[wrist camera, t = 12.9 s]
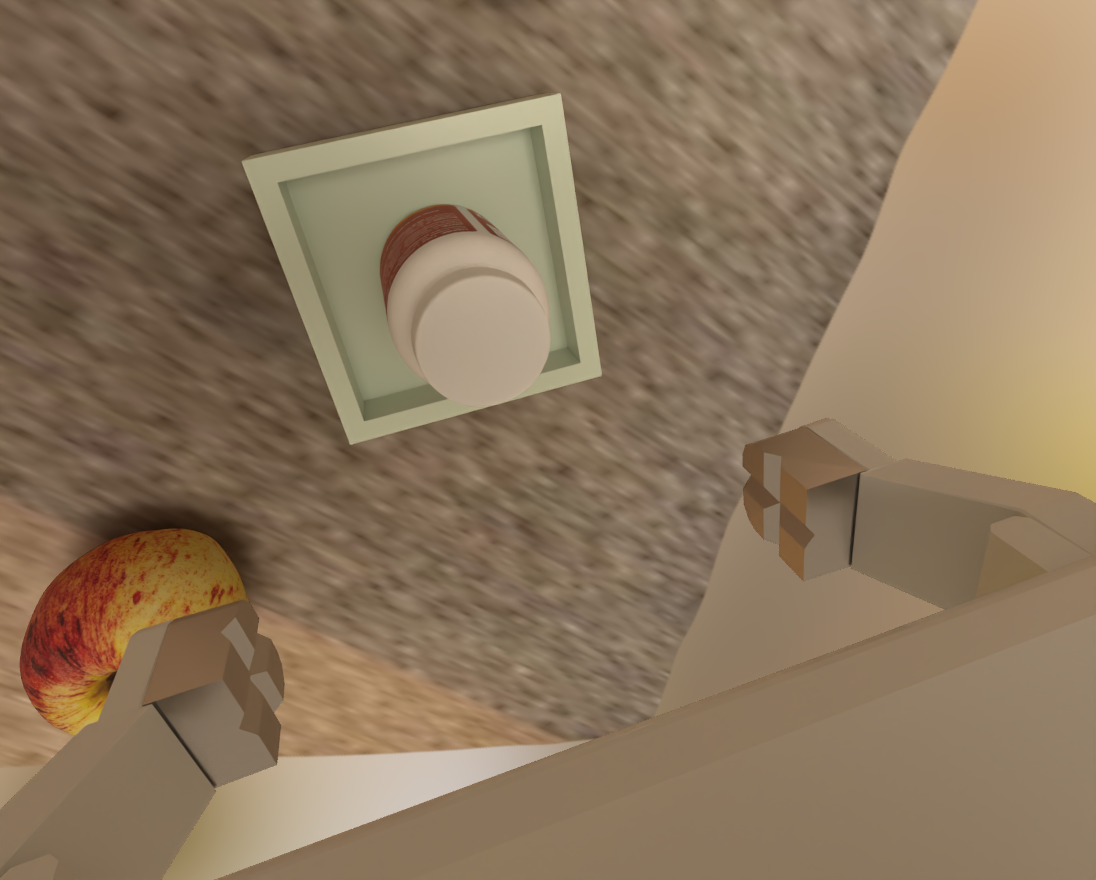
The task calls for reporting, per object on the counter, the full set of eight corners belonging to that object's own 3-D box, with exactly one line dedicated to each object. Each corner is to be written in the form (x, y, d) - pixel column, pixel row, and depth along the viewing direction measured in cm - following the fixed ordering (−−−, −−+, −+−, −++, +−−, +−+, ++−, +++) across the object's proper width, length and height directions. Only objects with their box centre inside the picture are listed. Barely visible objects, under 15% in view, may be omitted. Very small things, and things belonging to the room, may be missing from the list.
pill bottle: (372, 321, 32) (379, 419, 22) (386, 189, 29) (401, 235, 20) (496, 338, 34) (550, 434, 24) (520, 215, 31) (591, 269, 22)
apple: (99, 469, 32) (7, 605, 24) (286, 516, 36) (263, 648, 28) (59, 607, 35) (-37, 773, 27) (236, 638, 39) (201, 792, 30)
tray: (350, 418, 34) (350, 444, 32) (251, 155, 28) (241, 161, 25) (584, 355, 36) (601, 375, 34) (543, 93, 30) (561, 93, 27)
